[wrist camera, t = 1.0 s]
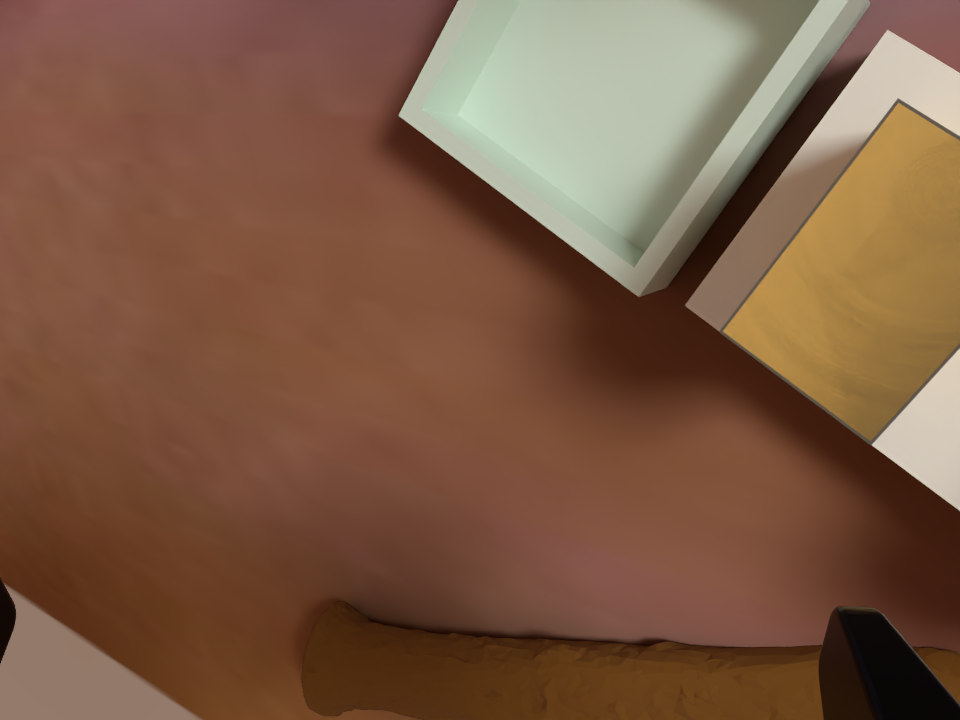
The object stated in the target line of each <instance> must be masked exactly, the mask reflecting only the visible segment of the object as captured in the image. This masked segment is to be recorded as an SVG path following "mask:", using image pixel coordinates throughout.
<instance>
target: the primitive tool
mask: <svg viewBox="0 0 960 720" xmlns="http://www.w3.org/2000/svg"><path fill="white" fill-rule="evenodd" d="M912 648H913V649H914V651H915V652H916V653H917V654H918V655H919V657H920V658H921V659H922V660H923V661H924V662H925V664H926V665H927V666H928V667H929V668H930V670H931V671H932V672H933V673H934V674H935V675H936V677H937V678H938V679H939V680H940V681H941V683H942V684H943V685H944V686H945V687H946V688H947V690H948V691H949V692H950V693H951V694H952V696H953V697H954V698H955V699H956V700H957V701H958V703H959V704H960V654H958V653H957V652H954V651H951V650H940V649H934V648H931V647H926V648H918V647H912ZM821 649H822V646H798V647H755V648H742V647H730V648H725V647H712V646H696V645H686V644H680V643H674V642H668V641H667V642H663V643H657V644H654V645H652V646H642V645H634V644H626V643H601V642H593V641H566V640H548V639H544V638H541V639H512V638H493V637H488V636H484V637H478V638H477V637H474V636H472V635H460V634H456V633H451V634H438V633H430V632H426V631H423V630H420V629H415V630H408V629H403V628H399V627H395V626H389V625H383V624H381V623H376V622H371V621H370V620H369V619H368V618H367V617H366V616H365V615H364V614H362V613H360V612H358V611H356V610H355V609H354V608H353V607H352V606H351V605H349V604H347V603H345V602H342V601H340V602H336V603H334V604H333V605H332V606H330V607H329V608H328V609H327V610H326V611H324V612H323V613H322V614H321V616H320V617H319V619H318V620H317V622H316V623H315V625H314V626H313V629H312V632H311V636H310V639H309V641H308V643H307V646H306V650H305V654H304V657H303V666H302V677H301V680H302V687H303V693H304V697H305V700H306V703H307V705H308V707H309V709H311V710H313V711H315V712H316V713H318V714H320V715H323V716H339V715H341V714H342V713H343V712H345V711H352V710H354V709H360V710H385V711H391V712H394V713H398V714H401V715H405V716H409V717H413V718H418V719H422V720H824V718H823V710H822V701H821V693H820V685H819V672H818V667H819V656H820V652H821Z"/></svg>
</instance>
